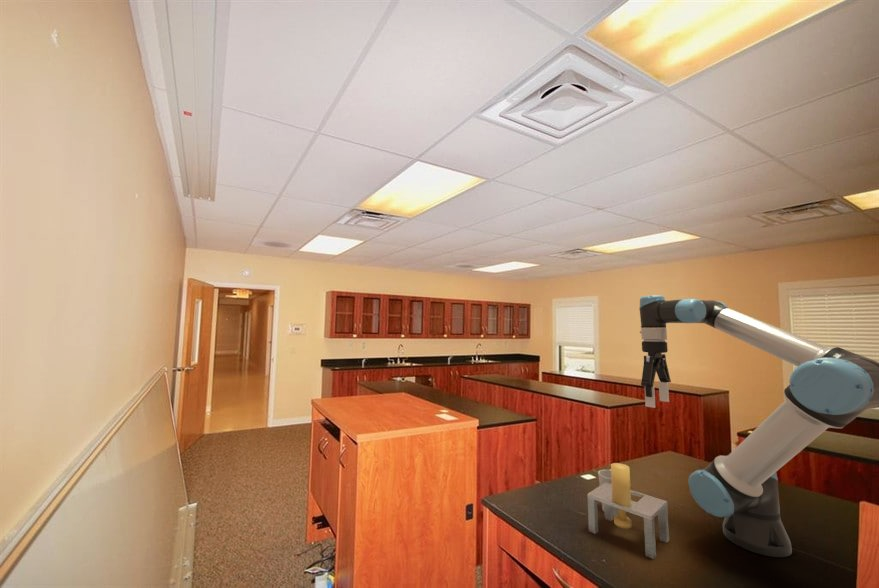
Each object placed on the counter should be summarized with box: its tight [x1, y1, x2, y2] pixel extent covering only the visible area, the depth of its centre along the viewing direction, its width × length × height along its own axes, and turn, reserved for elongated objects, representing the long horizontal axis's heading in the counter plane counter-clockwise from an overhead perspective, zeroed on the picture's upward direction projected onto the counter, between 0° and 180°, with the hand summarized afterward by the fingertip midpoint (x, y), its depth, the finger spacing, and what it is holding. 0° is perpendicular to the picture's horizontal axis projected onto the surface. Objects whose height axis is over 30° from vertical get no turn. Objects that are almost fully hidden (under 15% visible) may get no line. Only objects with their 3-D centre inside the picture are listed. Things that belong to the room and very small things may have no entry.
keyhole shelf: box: [586, 482, 670, 560], centre depth 108 cm, size 18×13×11 cm
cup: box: [597, 469, 618, 516], centre depth 123 cm, size 8×8×12 cm
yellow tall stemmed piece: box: [610, 462, 632, 529], centre depth 107 cm, size 5×5×16 cm
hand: (657, 404), depth 121 cm, fingers open, 13 cm apart
